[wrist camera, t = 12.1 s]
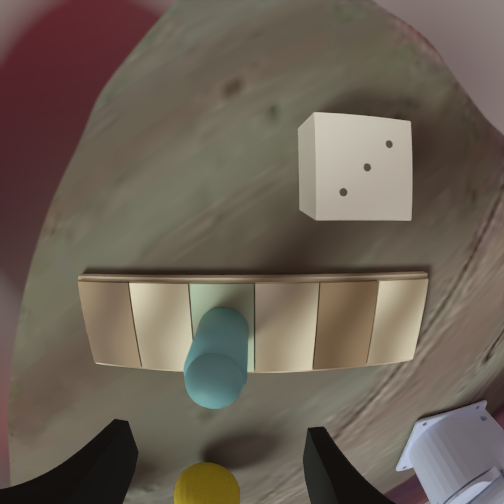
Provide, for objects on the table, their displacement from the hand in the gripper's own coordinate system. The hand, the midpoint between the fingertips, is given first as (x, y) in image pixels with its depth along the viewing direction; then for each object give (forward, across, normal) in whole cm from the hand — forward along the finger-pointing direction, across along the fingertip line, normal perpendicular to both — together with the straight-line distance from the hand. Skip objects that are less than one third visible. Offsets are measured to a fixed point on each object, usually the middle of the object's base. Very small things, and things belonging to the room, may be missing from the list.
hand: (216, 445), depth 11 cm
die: (+10, -7, -11) cm, 16 cm away
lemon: (+11, +2, +14) cm, 18 cm away
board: (+10, -2, 0) cm, 10 cm away
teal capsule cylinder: (+9, 0, -1) cm, 9 cm away
